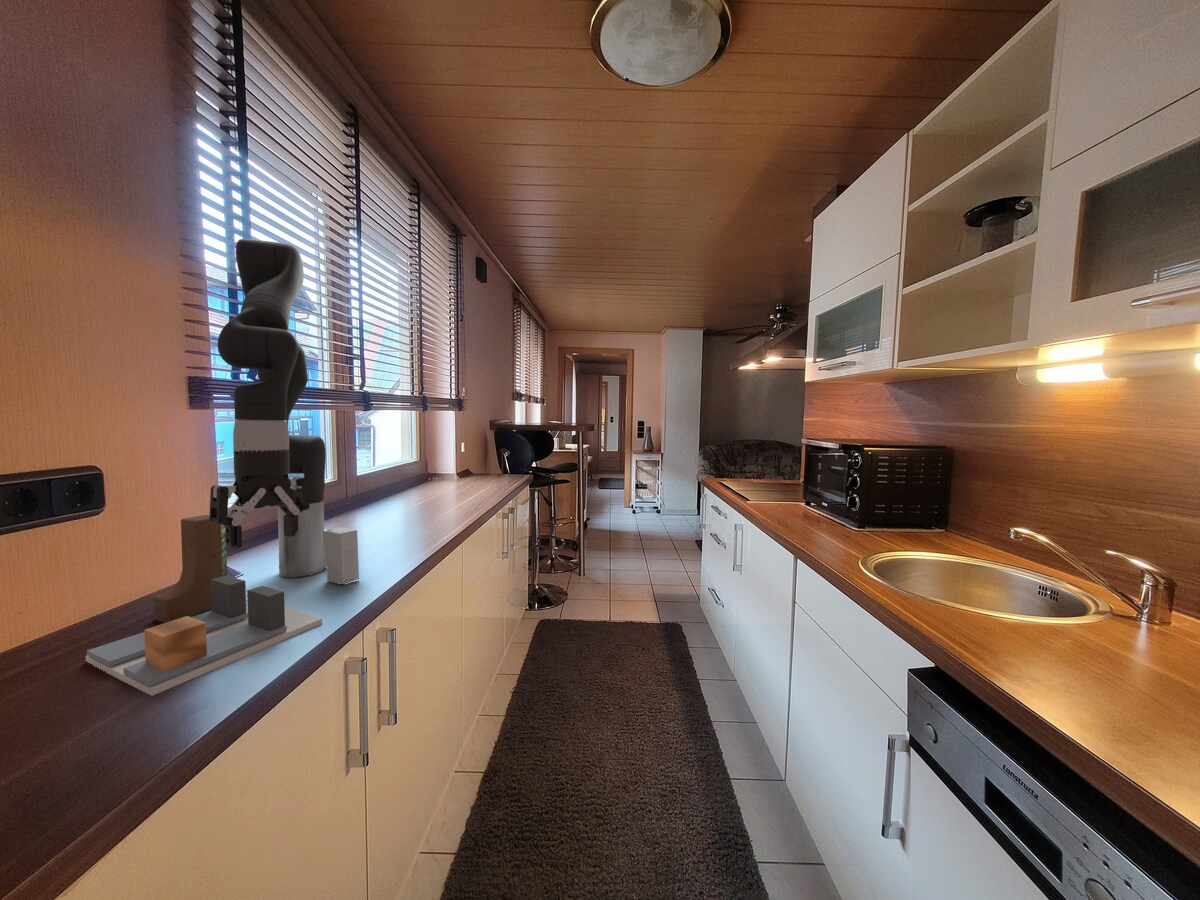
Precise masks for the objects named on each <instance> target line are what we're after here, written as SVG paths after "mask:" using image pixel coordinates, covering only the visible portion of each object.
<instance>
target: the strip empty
mask: <svg viewBox="0 0 1200 900" xmlns="http://www.w3.org/2000/svg"><path fill="white" fill-rule="evenodd" d="M246 588H247V587H246V580H244V579H241V578H238V577H237V578H236V577H233V576H229V575H227V576H222V577H218V578H214V579H211V610H208V611H205V612H202V613H199V614H196V615H193V616H191V617H192V618H194V619H197V620H200V621H203V622H205V623H206V632H209V631H212V630H215V629H218V628H220V627H223V626H226V625H229V624H232V623H234V622H237V621H240V620H243V619H246V618H248V613H246V603H247V601H246V600H247V597H246V596H247V593H246V592H247V591H246ZM144 654H145V635H144V631H142V632H140V633H137V634H134V635H130V636H128V637H124V638H121V639H118V640H115V641H112V642H108V643H107V644H103V645H100V646H97V647H94V648H91V649H87V650H86V656H89V657H91V658H93V659H95V660H97V661H99V662H101V663H103V664H105V665H107V666H109V667H111V666H113V665H116V664H119V663H122V662H125V661H127V660H130V659H133V658H136V657H139V656H142V655H144Z"/></svg>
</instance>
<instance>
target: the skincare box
mask: <svg viewBox="0 0 1200 900" xmlns="http://www.w3.org/2000/svg"><path fill="white" fill-rule="evenodd" d="M325 530H326V531H325V548H326V567H327V568H326V581H327V582H329V581H330V582H329V583H333V582H334V584H336V583H339V584H338V585H340V584H346V583H349V582H351V581H354V580H357V579H359V580H360V571H359V569H360V568H359V546H358V545H359V543H358V530H357V529H351V528H347V527H343V526H340V527H335V528H334V527H333V528H330V529H325Z"/></svg>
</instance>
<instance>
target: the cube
mask: <svg viewBox="0 0 1200 900" xmlns="http://www.w3.org/2000/svg"><path fill="white" fill-rule="evenodd" d="M192 617H193V616H190V617H189V616H186V617H183V618H179V619H176V620H173V621H170V622H167V623H164V622H163V623H161V624H158V625H154V626H152V627H148V628H145V629H144V630H143V632H144V635H145V658H146V663H147V664H149V665H151V666H153V667H155V668H158V669H160V670H162V671H167V670H170V669H172V668H175V667H177V666H180V665H182V664H185V663H187V662H190V661H192V660H195V659H197V658H200V657H203V656H205V655H207V642H206V623H205V622H203V621H200V620H197V619H194V618H192Z"/></svg>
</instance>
